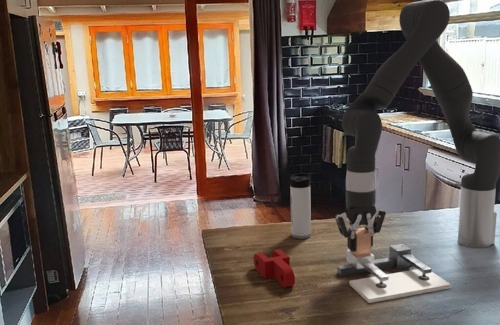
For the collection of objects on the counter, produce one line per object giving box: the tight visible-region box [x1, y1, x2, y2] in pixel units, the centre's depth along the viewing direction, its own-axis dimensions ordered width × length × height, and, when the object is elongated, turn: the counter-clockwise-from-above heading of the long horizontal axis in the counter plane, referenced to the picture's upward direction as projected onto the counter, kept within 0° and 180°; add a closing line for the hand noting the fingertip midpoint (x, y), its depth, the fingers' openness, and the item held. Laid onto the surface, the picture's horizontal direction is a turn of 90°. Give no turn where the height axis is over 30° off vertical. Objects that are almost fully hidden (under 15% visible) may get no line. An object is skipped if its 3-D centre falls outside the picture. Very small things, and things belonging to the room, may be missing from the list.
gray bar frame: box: [336, 243, 433, 277], centre depth 127 cm, size 22×14×5 cm, turn 105°
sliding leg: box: [345, 227, 389, 285], centre depth 125 cm, size 5×16×10 cm, turn 15°
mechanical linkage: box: [253, 249, 296, 289], centre depth 130 cm, size 16×7×5 cm, turn 21°
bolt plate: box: [349, 268, 451, 304], centre depth 122 cm, size 22×10×1 cm, turn 105°
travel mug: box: [289, 172, 312, 240], centre depth 156 cm, size 6×7×20 cm
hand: (360, 249), depth 130 cm, fingers closed on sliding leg, 4 cm apart
